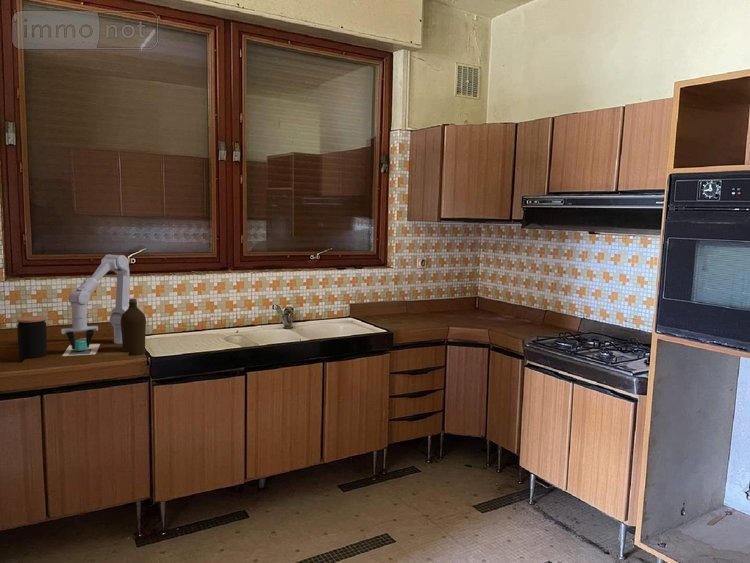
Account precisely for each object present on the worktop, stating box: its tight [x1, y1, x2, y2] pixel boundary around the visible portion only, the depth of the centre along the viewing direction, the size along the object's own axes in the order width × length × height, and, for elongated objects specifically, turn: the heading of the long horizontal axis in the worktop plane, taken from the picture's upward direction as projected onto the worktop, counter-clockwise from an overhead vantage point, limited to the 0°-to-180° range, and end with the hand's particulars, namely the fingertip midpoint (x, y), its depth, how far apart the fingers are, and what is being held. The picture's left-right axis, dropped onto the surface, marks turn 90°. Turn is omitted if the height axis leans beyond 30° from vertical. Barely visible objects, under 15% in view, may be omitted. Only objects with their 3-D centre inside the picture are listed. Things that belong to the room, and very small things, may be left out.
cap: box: [74, 338, 87, 351], centre depth 249 cm, size 5×5×4 cm
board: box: [62, 343, 101, 357], centre depth 254 cm, size 13×21×2 cm, turn 21°
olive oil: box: [121, 298, 147, 356], centre depth 255 cm, size 11×11×25 cm
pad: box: [69, 349, 92, 356], centre depth 249 cm, size 8×8×1 cm
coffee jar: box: [16, 315, 49, 363], centre depth 240 cm, size 11×11×18 cm
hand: (80, 348), depth 249 cm, fingers closed on cap, 5 cm apart
